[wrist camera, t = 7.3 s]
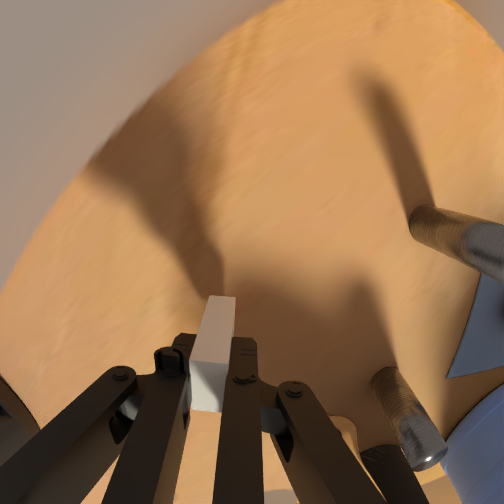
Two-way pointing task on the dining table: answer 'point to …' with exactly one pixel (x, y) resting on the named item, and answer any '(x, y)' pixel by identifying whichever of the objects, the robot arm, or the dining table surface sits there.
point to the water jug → (478, 452)
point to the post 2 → (461, 238)
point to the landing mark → (482, 332)
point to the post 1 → (408, 420)
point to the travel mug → (393, 475)
